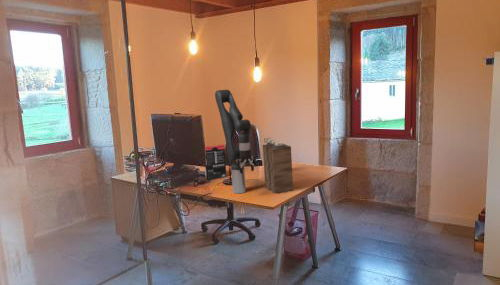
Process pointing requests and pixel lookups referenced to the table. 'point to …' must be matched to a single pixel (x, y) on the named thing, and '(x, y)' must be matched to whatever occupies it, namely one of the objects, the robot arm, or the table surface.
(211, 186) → the table surface
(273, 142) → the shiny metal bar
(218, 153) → the graphics card box
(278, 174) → the walnut cabinet
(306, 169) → the table surface
